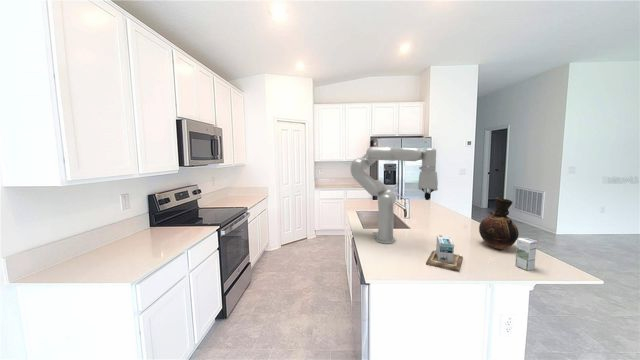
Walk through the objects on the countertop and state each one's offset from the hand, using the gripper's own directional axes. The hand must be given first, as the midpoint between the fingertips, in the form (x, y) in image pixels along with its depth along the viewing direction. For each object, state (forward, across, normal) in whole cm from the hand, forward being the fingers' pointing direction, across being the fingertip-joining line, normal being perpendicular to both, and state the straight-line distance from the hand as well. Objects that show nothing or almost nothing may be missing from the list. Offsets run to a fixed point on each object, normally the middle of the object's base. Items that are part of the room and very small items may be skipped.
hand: (427, 199), depth 149 cm
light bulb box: (+28, +12, -17) cm, 35 cm away
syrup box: (+29, +47, -3) cm, 55 cm away
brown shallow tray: (+29, +13, -17) cm, 36 cm away
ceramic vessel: (+29, +36, +22) cm, 51 cm away
